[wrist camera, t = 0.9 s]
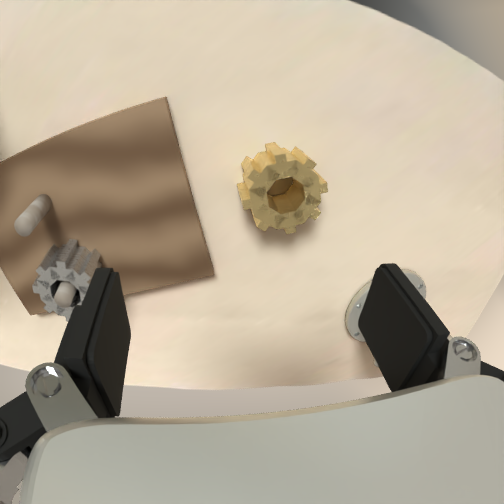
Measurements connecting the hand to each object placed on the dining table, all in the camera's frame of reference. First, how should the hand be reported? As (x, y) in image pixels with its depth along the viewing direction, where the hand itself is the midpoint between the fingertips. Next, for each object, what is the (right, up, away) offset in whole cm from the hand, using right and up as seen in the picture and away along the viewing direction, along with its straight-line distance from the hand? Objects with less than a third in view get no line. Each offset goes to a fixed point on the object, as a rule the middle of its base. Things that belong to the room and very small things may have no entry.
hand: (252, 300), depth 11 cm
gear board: (-17, +5, +18) cm, 25 cm away
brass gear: (+2, +9, +19) cm, 21 cm away
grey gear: (-18, 0, +19) cm, 26 cm away
